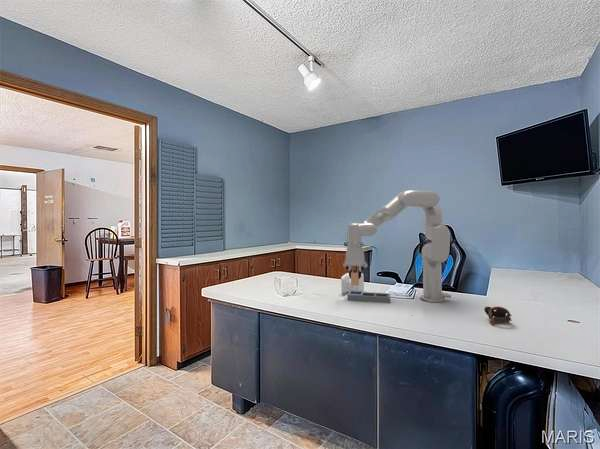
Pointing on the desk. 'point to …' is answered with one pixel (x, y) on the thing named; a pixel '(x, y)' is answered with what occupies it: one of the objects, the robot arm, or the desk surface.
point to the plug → (354, 278)
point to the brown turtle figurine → (498, 315)
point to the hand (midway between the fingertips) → (355, 277)
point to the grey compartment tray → (368, 297)
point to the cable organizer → (347, 284)
